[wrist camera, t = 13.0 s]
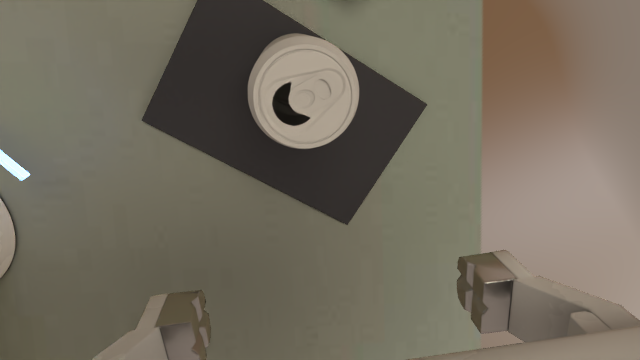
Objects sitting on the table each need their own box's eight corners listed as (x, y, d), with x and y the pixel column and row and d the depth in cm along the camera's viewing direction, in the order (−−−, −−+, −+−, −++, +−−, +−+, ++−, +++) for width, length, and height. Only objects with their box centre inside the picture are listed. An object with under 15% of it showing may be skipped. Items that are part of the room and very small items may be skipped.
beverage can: (241, 58, 33) (221, 74, 21) (312, 17, 32) (330, 12, 21) (281, 127, 35) (282, 175, 24) (348, 90, 34) (382, 121, 23)
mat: (143, 119, 34) (141, 120, 34) (213, -31, 31) (212, -32, 30) (346, 222, 39) (347, 225, 39) (425, 103, 36) (427, 104, 35)
